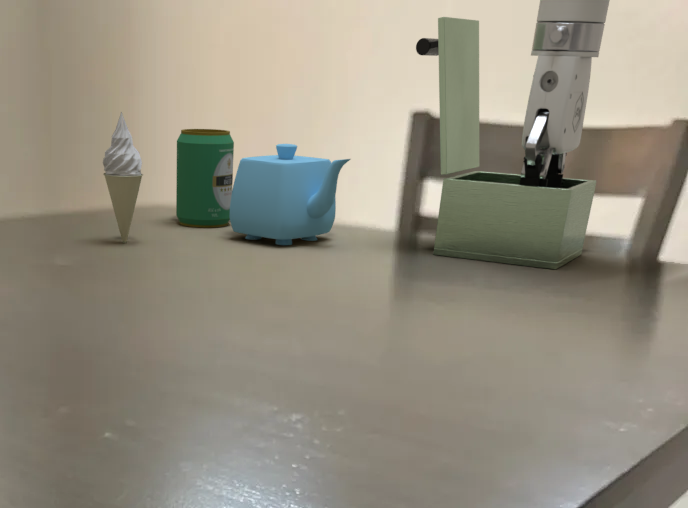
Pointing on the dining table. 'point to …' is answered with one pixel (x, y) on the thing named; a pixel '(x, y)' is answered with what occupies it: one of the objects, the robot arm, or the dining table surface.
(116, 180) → the ice cream cone
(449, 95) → the lid
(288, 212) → the teapot
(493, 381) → the dining table surface
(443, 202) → the green open box
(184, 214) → the beverage can
